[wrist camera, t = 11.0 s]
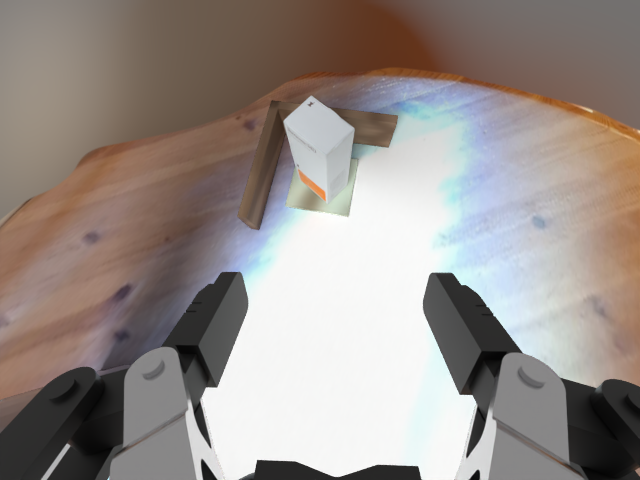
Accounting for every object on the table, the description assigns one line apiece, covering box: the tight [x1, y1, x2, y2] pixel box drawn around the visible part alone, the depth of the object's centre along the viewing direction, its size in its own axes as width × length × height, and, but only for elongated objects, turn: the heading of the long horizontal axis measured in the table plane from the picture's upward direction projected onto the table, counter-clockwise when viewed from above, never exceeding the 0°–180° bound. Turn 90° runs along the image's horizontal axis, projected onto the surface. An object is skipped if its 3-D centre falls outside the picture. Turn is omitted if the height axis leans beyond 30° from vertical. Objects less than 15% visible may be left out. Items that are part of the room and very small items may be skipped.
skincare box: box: [283, 96, 355, 204], centre depth 29 cm, size 6×4×12 cm
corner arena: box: [237, 100, 398, 230], centre depth 32 cm, size 17×17×5 cm
